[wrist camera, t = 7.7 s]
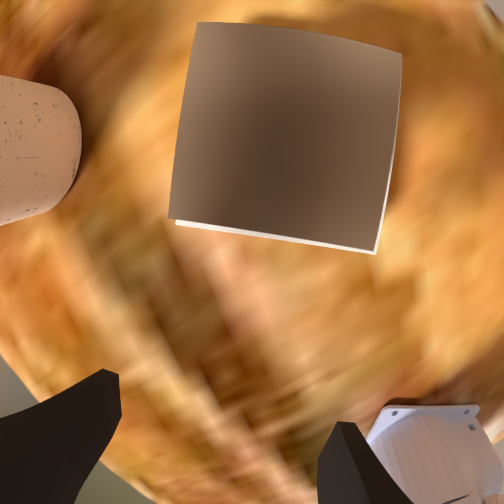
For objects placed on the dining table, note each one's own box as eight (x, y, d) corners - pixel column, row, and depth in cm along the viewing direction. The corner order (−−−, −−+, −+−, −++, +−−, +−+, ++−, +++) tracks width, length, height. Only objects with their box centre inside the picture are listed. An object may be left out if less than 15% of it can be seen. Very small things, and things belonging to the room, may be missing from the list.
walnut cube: (357, 92, 12) (402, 53, 7) (338, 217, 13) (373, 251, 8) (229, 72, 12) (197, 21, 7) (211, 196, 14) (167, 218, 8)
